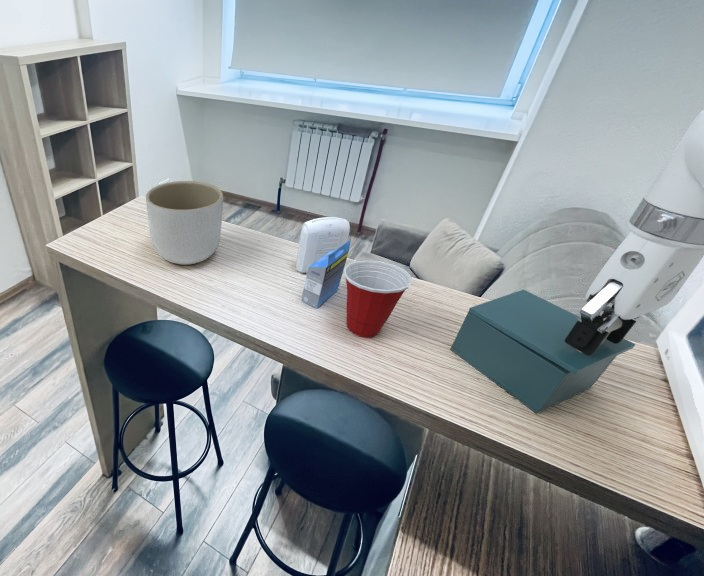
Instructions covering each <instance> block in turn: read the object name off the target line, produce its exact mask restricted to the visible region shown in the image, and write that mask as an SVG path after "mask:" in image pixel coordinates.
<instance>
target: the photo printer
mask: <svg viewBox="0 0 704 576" xmlns="http://www.w3.org/2000/svg"><path fill="white" fill-rule="evenodd" d="M350 231H351V226H350V222H349V221H348V220H347V219H346V218H342V217H338V216H337V217H336V216H325V217H318V218H313V219H310V220H307V221H304V222H303V224H302V226H301V230H300V234H299V235H300V236H299V243H298V248H297V253H296V254H297V255H296V261H295V269H296V271H297V272H298V273H303V274H307V271H308V267H310V266H311V265H312V264H314V263H315V262H316V261H318V260H319V259H320V258H321V257H323V256H324V255H325V254H327V253H328V252H329V251H331V250H336V249H337V248H339V247H340V246H342V245H343V244H345V243H346V242H347V241H348V240H349V237H350Z"/></svg>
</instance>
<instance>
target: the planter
mask: <svg viewBox="0 0 704 576" xmlns="http://www.w3.org/2000/svg"><path fill="white" fill-rule="evenodd" d="M145 205H146V213H147V223H148V230H149V236H150V241H151V244H152V248H153V249H154V251H155V252H156V254H157V255H159V256H160V257H161V258H162V259H163V260H166V261H167V262H170V263H171V264H175V265H183V266H186V265H188V266H189V265H194V264H195V265H196V264H199V263H201V262H203V261H205V260H207V259H209V258H210V257H211V256H212V255H213V254H214V253H215V252H216V251H217V249H218V246H219V244H220V242H221V241H220V240H221V235H222V234H221V233H222V223H223V207H224V193H223V191H222V190H221V188H219V187H217V186H216V185H214V184H211V183H208V182H204V181H198V180H197V181H196V180H177V181H176V180H175V181H169V182H165V183H161V184H158V185H155V186H154V187H152V188H151V189H149V190H148V191H147V192H146V193H145Z"/></svg>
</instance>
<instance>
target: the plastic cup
mask: <svg viewBox="0 0 704 576" xmlns="http://www.w3.org/2000/svg"><path fill="white" fill-rule="evenodd" d="M343 277H344V278H345V282H346V309H345V310H346V318H345V319H346V320H345V321H346V328H347V329H348V331H349V332H350V333H351V334H353V335H355V336H357V337H360V338H366V339H368V338H374V337H377V336H378V334H380V332H381V330H382V329H383V327H384V325H385V324H386V323H387V321H388V319H389V318H390V316H391V314H392V313H393V311H394V309H395V307H396V306H397V304H398V302H399V301H400V299H401V297H402V296H403V294H405V291H406V290H408V289H409V288H410V286H411V285H412V283H413V278H412V276H411V274H410V273H409V272H408V271H407V270H406V269H405V268H403V267H401V266H398V265H396V264H393V263H390V262H386V261H381V260H372V259H370V260H369V259H366V260H365V259H364V260H356V261H353V262H350V263H347V265H345V266H344V270H343Z"/></svg>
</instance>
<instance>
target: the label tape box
mask: <svg viewBox="0 0 704 576" xmlns="http://www.w3.org/2000/svg"><path fill="white" fill-rule="evenodd" d="M351 240H352V238H349V239H348V240H347V242H346V243H345V244H343V245H342V246H340V247H339V248H337V249H336V250H331V251H329V252H328V253H327V254H325V255H324V256H323V257H321V258H320V259H319V260H318V261H316V262H315V263H314V264H312V265H311V266H310V267H308V271H307V273H306V275H305V276H306V277H305V281H304V286H303V290H302V295H301V302H302V303H305V304H307V305H308V306H310V307H313V308H314V309H318V308H320V307H321V306H322V305H323V304H324V303H325V302H326V301H327V300H329V299H330V297H332V296H333V295H334V294H335V293H336V292H337V291H338V290H339V288H340V284H341V280H342V277H343V275H344V268H345V267H346V263H347V259H348V255H349V251H350V248H351Z"/></svg>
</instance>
